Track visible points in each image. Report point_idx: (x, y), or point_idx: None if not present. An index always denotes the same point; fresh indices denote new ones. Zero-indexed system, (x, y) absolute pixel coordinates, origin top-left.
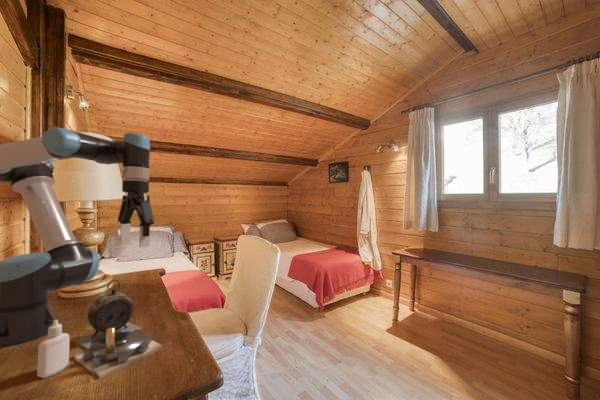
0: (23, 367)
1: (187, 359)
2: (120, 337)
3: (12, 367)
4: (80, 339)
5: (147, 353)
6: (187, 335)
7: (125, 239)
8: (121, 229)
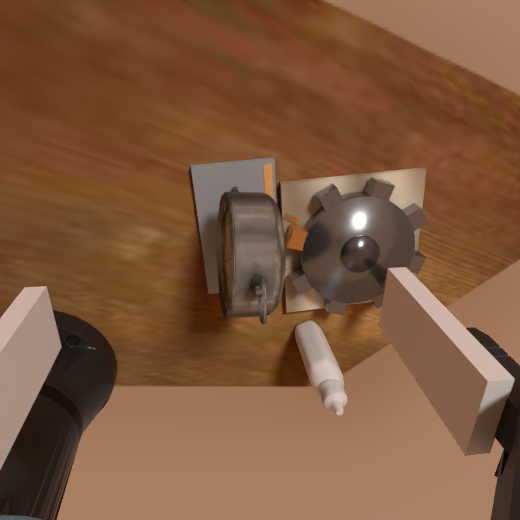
0: (249, 368)
1: (515, 153)
2: (348, 249)
3: (232, 379)
4: (214, 287)
5: (421, 208)
6: (424, 80)
7: (45, 339)
8: (4, 447)
